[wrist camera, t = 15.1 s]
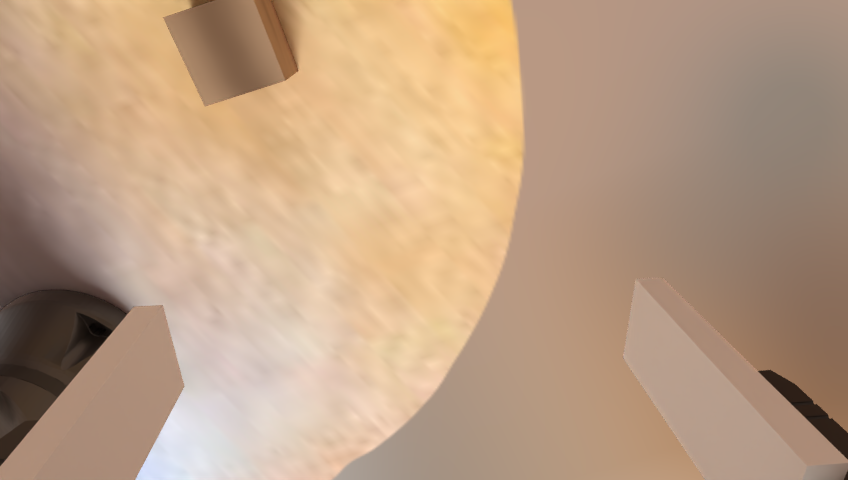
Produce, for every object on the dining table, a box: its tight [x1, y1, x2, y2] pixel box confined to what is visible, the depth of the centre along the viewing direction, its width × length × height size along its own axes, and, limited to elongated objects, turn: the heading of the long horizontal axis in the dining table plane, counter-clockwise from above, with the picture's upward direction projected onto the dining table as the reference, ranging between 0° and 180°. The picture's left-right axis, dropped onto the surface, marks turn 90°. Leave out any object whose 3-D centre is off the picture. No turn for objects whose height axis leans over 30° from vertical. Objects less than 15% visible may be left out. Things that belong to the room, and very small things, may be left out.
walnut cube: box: [163, 0, 298, 106], centre depth 38 cm, size 6×6×6 cm
